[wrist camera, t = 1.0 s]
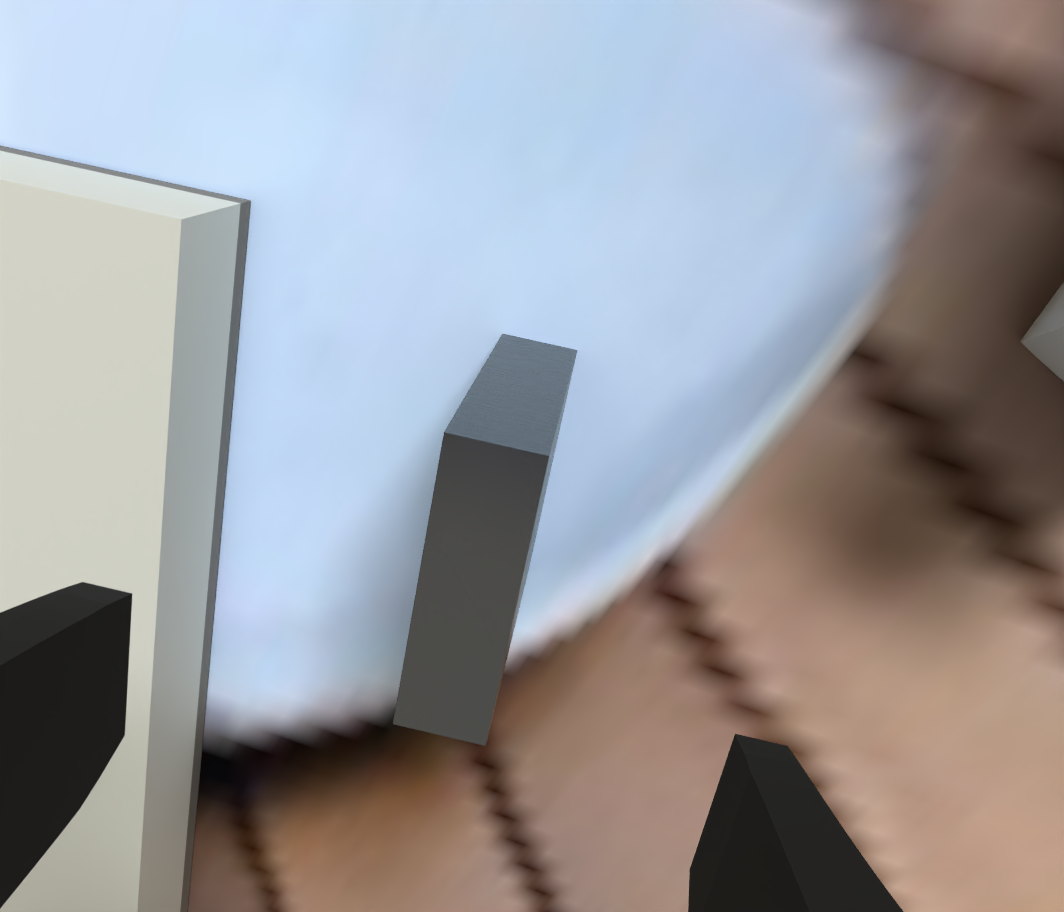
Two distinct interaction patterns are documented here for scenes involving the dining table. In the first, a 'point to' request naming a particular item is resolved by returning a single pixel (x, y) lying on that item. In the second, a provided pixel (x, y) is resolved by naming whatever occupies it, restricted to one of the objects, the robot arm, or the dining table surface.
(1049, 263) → the dining table surface
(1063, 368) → the grey and black device
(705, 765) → the dining table surface
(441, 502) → the metal block
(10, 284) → the post foot
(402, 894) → the dining table surface
